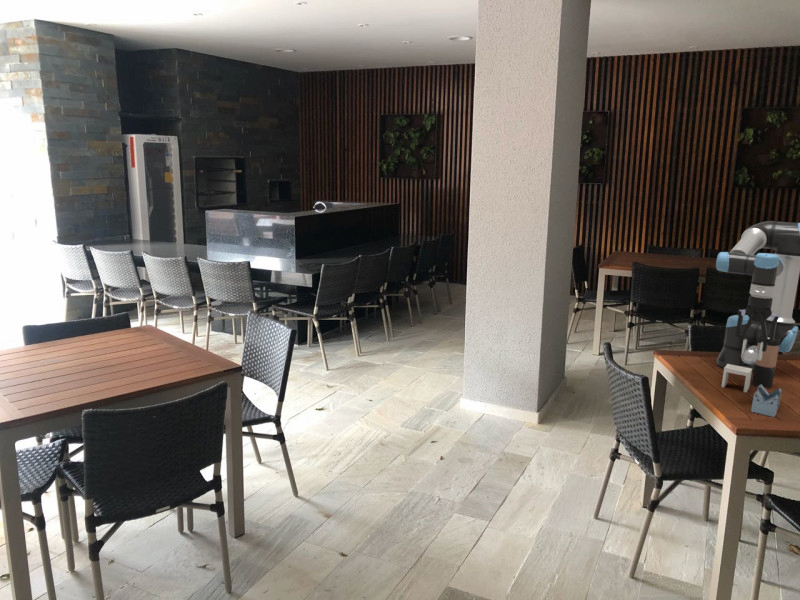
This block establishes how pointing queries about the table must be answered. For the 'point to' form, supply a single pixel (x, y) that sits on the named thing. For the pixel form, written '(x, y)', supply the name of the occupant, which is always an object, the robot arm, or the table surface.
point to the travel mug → (766, 364)
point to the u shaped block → (737, 370)
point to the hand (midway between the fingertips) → (751, 357)
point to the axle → (750, 355)
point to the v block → (766, 401)
